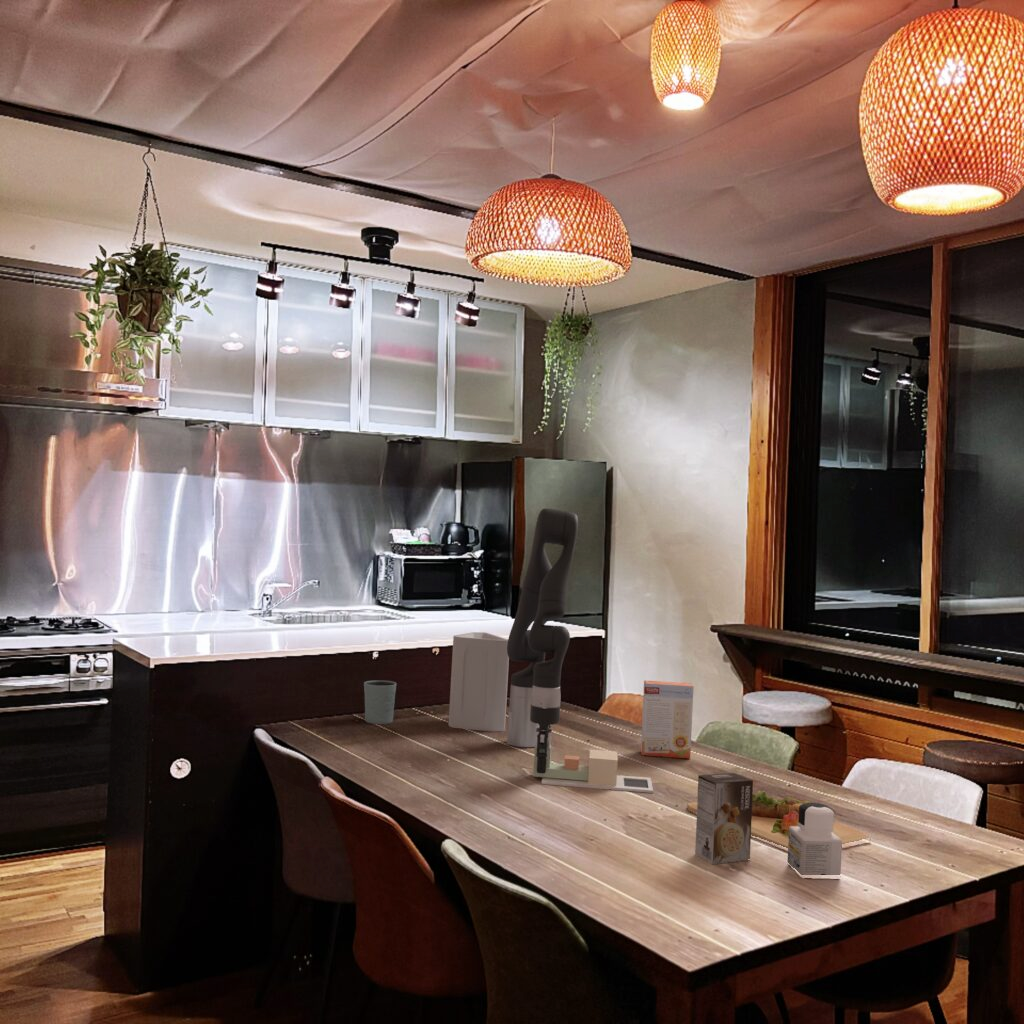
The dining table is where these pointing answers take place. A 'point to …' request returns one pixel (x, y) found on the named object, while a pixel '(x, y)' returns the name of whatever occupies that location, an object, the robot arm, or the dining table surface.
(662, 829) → the dining table surface
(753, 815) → the cutting board
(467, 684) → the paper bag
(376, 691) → the grey green cup
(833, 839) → the container
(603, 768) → the white base plate
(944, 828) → the dining table surface
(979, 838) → the dining table surface
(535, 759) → the sage green stepped block
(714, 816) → the coffee box
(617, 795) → the dining table surface
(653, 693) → the cracker box
